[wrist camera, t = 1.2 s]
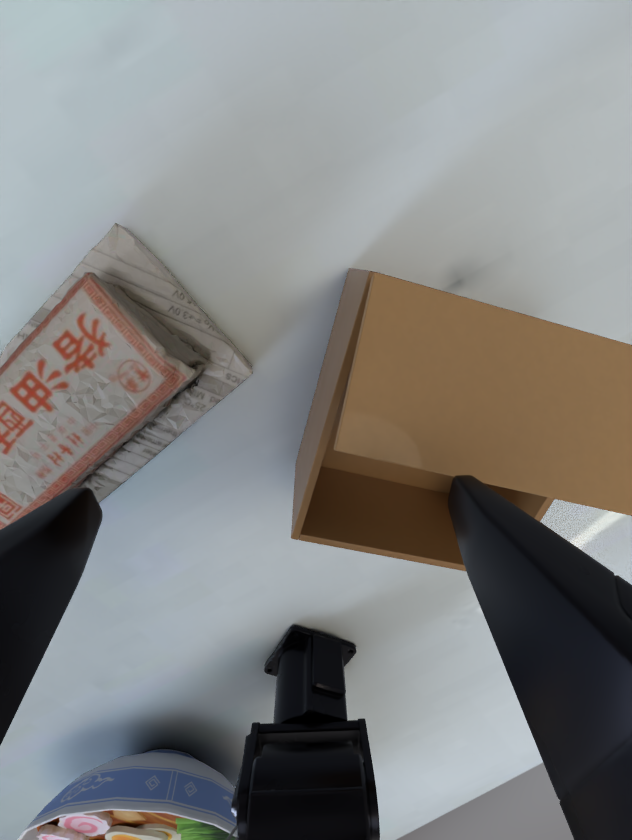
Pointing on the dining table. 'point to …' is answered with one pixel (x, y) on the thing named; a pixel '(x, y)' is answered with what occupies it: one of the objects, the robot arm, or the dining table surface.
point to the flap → (490, 396)
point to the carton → (371, 471)
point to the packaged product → (106, 377)
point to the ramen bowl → (141, 802)
